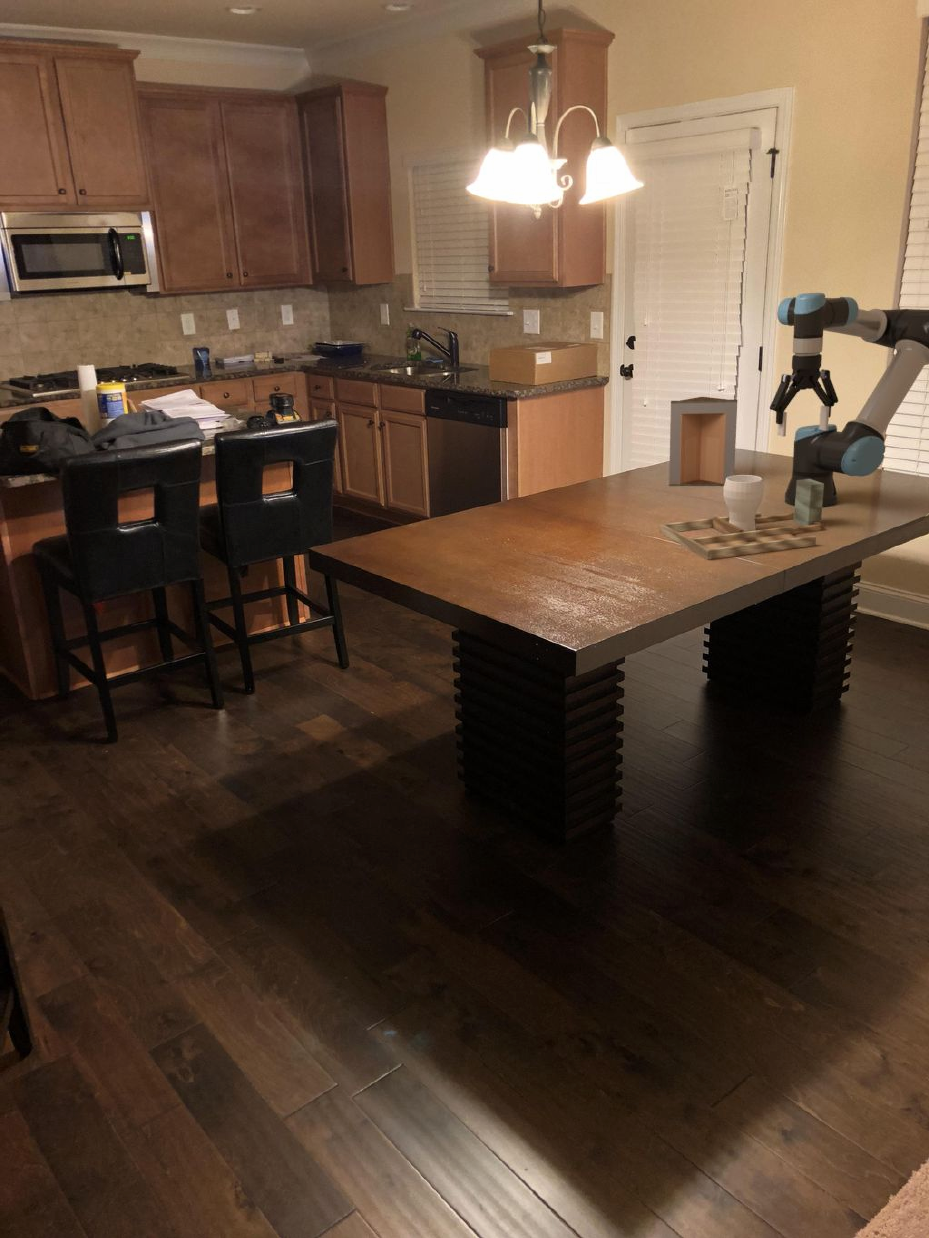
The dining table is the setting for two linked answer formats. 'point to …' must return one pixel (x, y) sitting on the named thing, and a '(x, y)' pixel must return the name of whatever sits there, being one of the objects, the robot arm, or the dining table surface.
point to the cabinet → (702, 441)
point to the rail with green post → (805, 513)
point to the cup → (743, 500)
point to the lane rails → (734, 539)
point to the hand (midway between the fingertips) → (802, 433)
